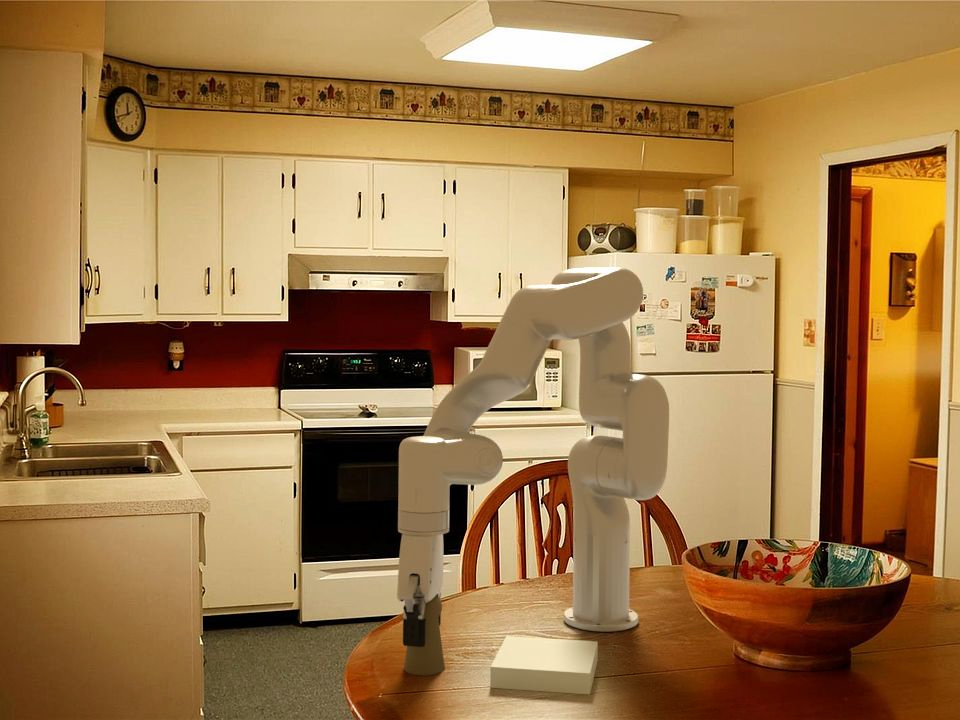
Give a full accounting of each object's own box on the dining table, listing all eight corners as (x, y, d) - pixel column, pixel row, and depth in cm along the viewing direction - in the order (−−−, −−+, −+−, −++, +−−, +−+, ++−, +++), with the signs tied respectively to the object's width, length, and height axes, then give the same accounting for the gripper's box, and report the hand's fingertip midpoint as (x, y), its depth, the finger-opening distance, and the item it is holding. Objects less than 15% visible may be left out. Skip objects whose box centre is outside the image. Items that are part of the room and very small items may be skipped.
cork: (444, 661, 161) (444, 589, 161) (444, 675, 155) (444, 600, 154) (404, 661, 161) (404, 589, 160) (403, 675, 155) (403, 601, 154)
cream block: (506, 655, 164) (506, 635, 164) (597, 660, 161) (597, 641, 161) (490, 687, 150) (490, 666, 150) (589, 694, 148) (589, 673, 147)
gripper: (413, 509, 166) (412, 617, 167) (382, 531, 149) (381, 652, 150) (460, 511, 164) (459, 620, 165) (435, 534, 148) (433, 656, 148)
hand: (422, 635), depth 157 cm, fingers open, 9 cm apart
